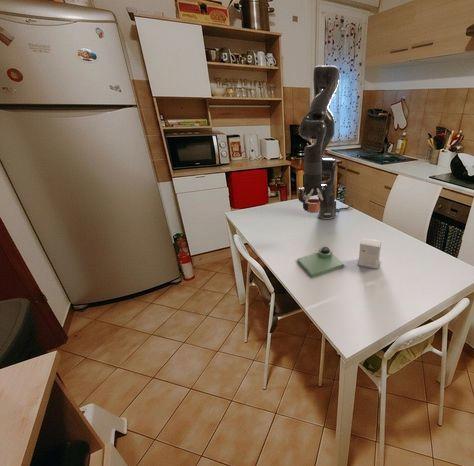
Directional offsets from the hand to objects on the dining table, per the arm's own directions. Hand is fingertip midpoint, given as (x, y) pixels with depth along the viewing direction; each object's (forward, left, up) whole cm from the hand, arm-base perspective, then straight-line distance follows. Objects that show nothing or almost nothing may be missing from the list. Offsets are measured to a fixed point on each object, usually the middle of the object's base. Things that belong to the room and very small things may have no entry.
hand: (312, 208), depth 117 cm
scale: (+5, +16, -18) cm, 25 cm away
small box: (-13, +26, -18) cm, 34 cm away
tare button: (+1, +13, -16) cm, 20 cm away
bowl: (0, 0, -1) cm, 1 cm away
